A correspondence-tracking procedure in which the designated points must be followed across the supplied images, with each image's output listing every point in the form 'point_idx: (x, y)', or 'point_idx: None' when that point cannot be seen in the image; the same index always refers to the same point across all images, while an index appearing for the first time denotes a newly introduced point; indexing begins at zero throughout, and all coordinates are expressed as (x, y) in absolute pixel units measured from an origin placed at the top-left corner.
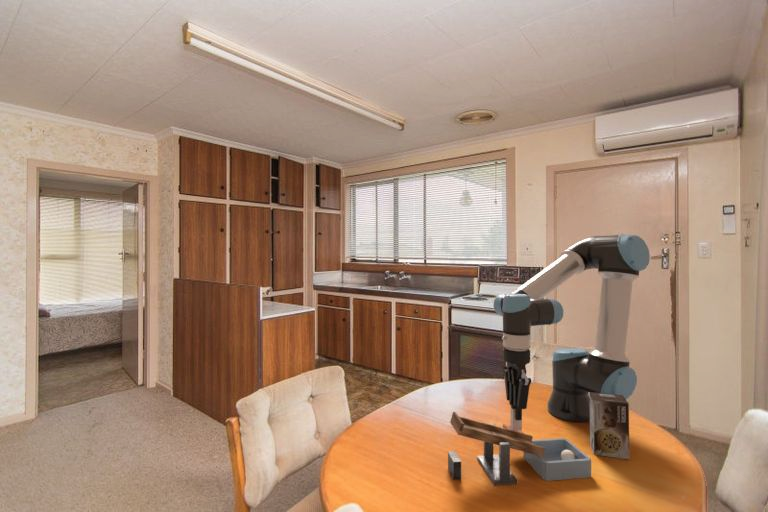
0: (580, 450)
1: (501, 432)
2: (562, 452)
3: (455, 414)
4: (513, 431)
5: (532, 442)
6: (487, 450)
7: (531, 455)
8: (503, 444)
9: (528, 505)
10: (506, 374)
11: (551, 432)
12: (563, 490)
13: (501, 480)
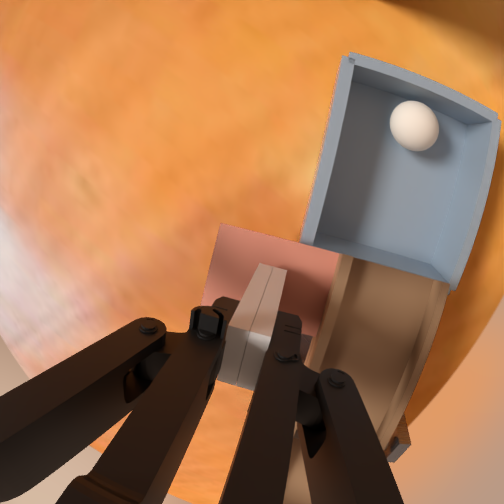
0: (446, 87)
1: None
2: (410, 142)
3: None
4: (322, 360)
5: (366, 267)
6: None
7: None
8: (398, 457)
9: (457, 367)
10: (17, 494)
11: (189, 18)
12: (478, 256)
13: None
